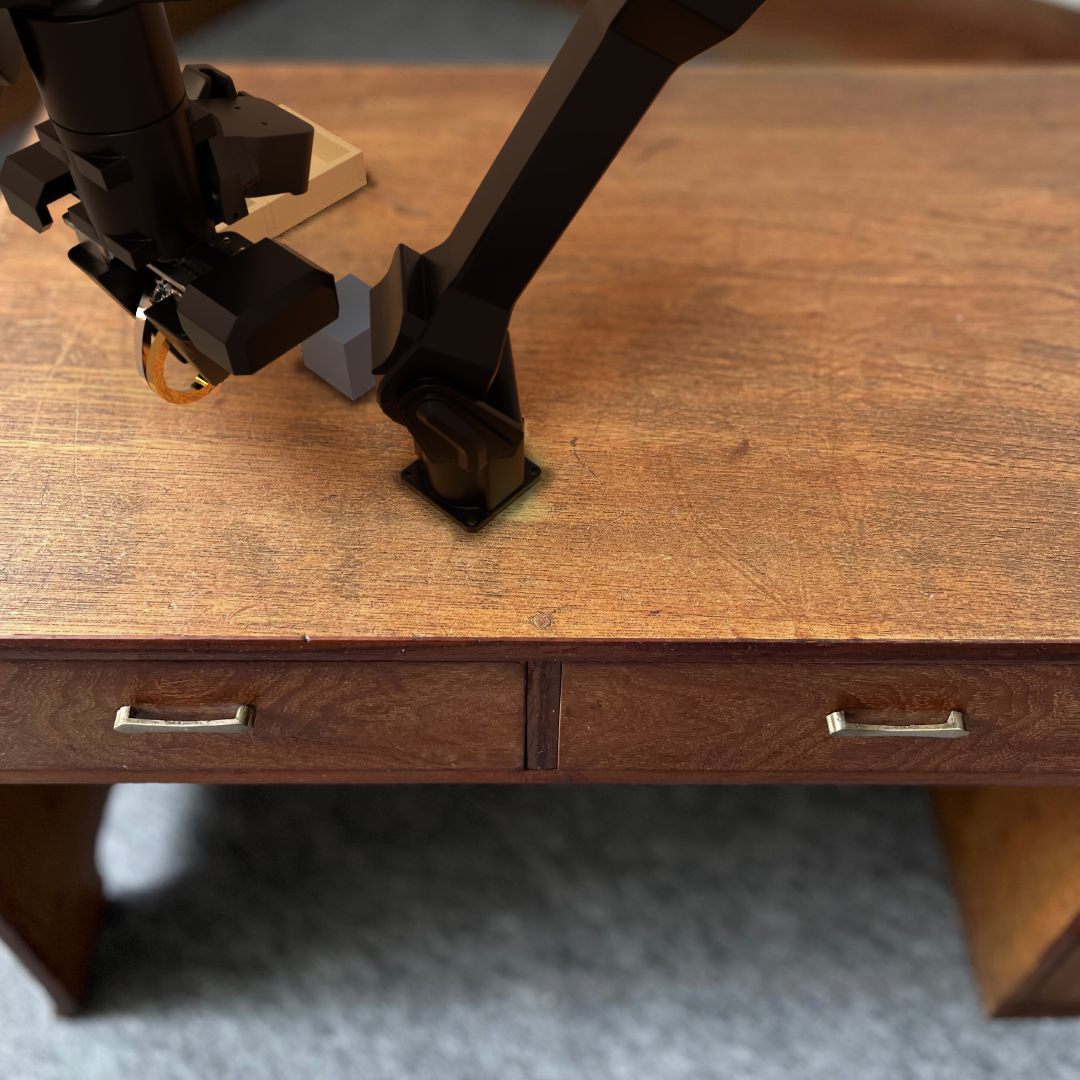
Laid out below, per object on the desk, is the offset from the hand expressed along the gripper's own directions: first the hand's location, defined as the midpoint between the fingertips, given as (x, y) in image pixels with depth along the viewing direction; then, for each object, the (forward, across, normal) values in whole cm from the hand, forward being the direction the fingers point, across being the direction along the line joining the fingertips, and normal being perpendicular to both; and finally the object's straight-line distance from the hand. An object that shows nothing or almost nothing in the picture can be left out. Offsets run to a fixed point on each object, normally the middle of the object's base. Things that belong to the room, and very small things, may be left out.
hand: (205, 369), depth 57 cm
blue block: (+11, +4, -13) cm, 17 cm away
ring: (+2, 0, 0) cm, 2 cm away
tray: (+11, +24, -18) cm, 31 cm away
